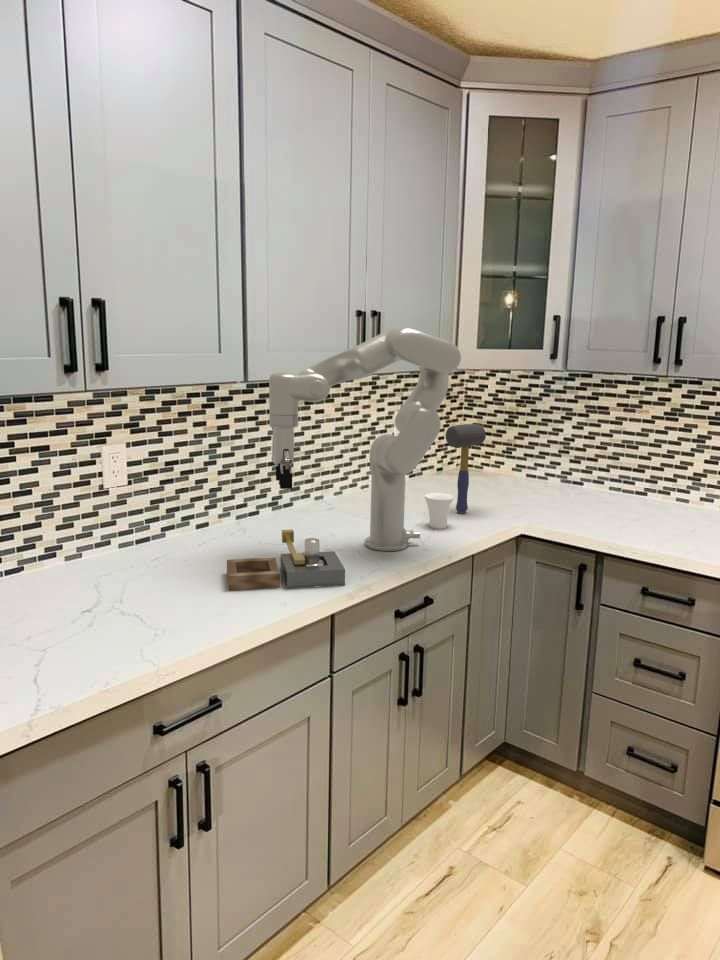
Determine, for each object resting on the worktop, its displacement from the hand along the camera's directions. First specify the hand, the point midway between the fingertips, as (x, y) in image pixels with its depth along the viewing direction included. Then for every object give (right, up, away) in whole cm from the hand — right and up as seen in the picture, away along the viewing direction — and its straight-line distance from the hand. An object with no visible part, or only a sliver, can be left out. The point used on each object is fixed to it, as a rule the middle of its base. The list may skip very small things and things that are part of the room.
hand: (283, 484), depth 191 cm
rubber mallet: (+54, -10, +49) cm, 74 cm away
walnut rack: (-6, -23, -16) cm, 29 cm away
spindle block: (+8, -23, -13) cm, 28 cm away
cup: (+45, -14, +33) cm, 57 cm away
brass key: (+3, -17, -8) cm, 19 cm away
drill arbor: (+8, -23, -13) cm, 28 cm away
